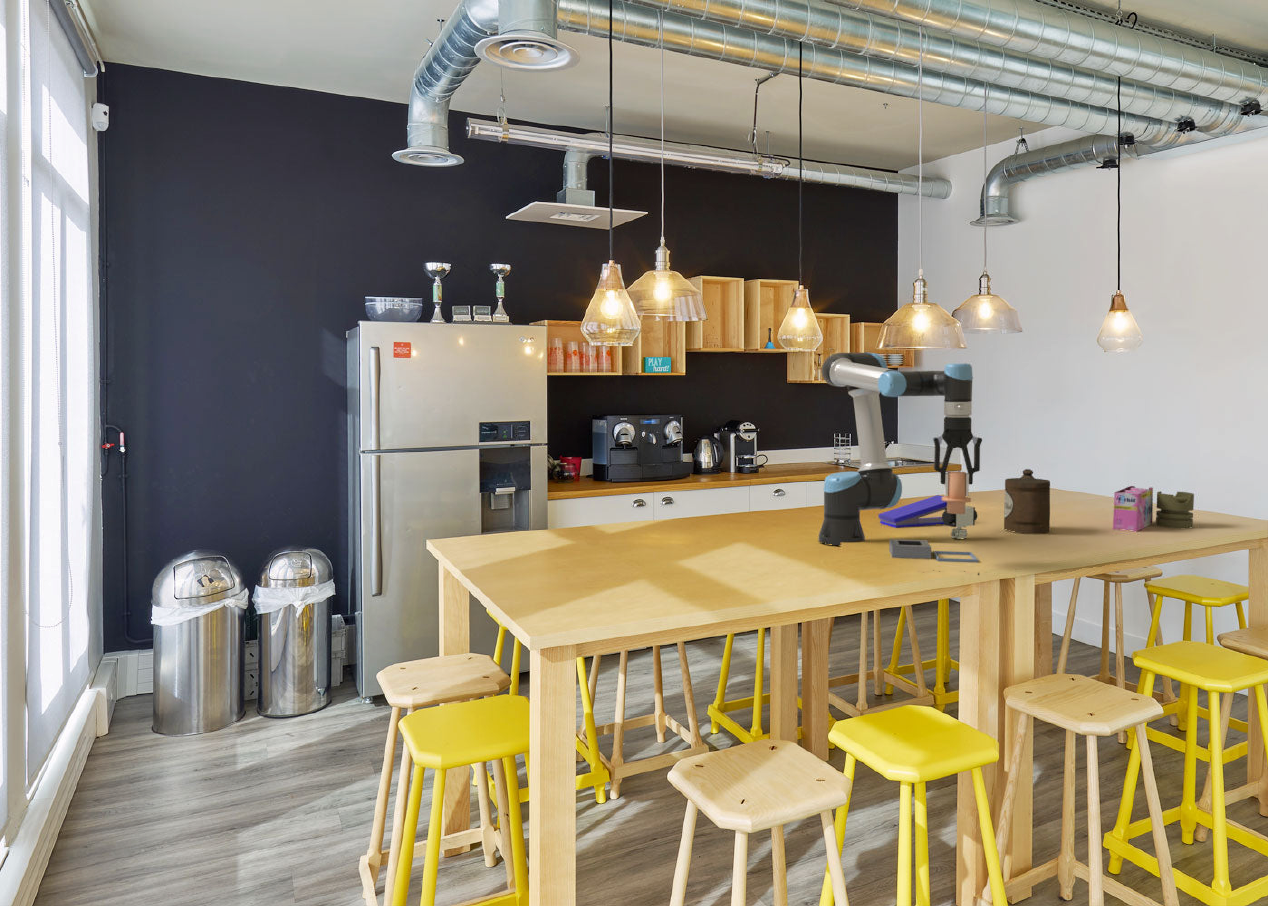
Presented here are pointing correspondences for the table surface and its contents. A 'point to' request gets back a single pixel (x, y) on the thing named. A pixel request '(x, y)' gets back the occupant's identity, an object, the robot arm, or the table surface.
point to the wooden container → (1027, 504)
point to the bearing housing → (910, 549)
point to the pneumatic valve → (960, 521)
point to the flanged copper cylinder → (956, 493)
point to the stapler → (914, 513)
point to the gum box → (1133, 508)
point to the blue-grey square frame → (955, 554)
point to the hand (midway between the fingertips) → (956, 495)
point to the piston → (1175, 510)
